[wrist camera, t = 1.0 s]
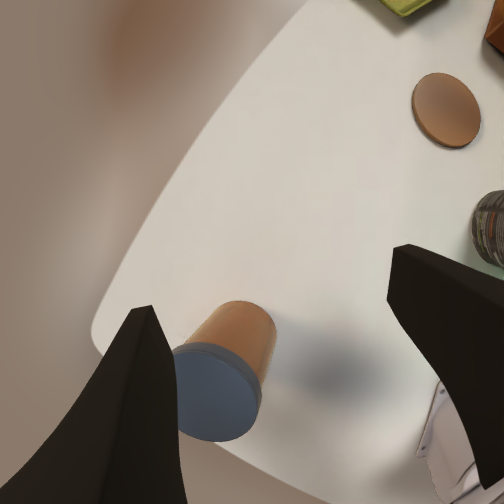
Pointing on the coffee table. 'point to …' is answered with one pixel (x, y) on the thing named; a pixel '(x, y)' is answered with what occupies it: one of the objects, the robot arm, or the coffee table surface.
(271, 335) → the jar
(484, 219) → the pill bottle
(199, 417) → the jar lid
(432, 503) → the coffee table surface
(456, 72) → the coffee table surface
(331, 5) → the coffee table surface
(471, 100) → the coaster
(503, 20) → the diary
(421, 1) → the saucer
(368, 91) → the coffee table surface
